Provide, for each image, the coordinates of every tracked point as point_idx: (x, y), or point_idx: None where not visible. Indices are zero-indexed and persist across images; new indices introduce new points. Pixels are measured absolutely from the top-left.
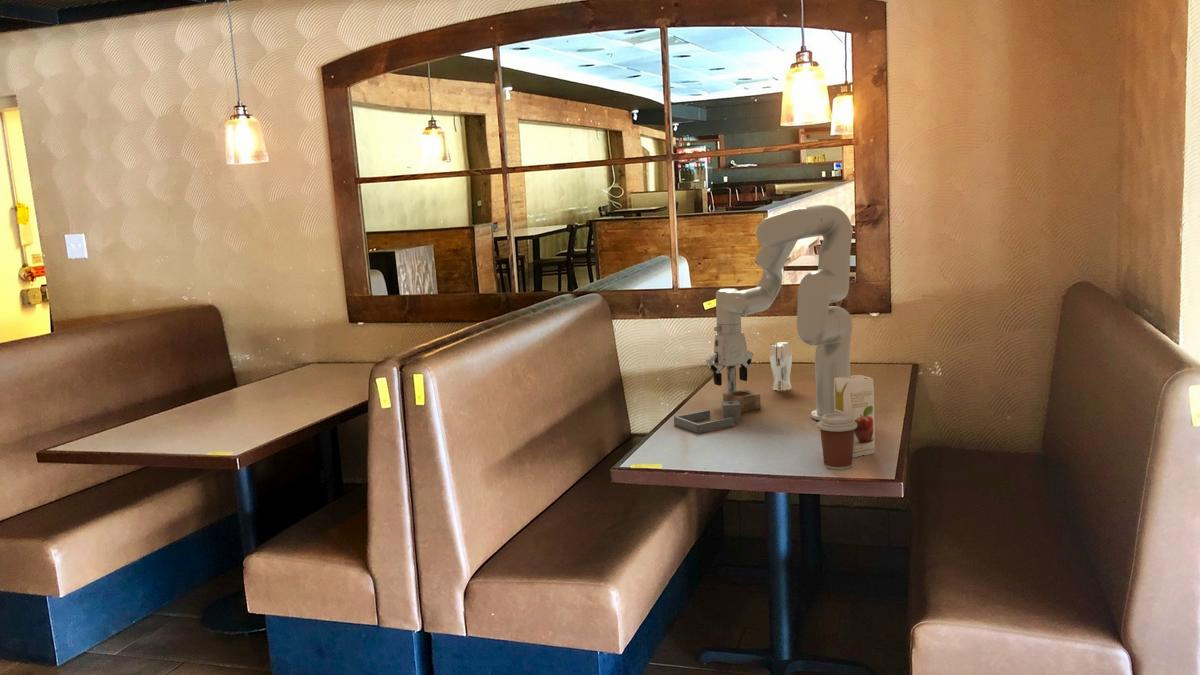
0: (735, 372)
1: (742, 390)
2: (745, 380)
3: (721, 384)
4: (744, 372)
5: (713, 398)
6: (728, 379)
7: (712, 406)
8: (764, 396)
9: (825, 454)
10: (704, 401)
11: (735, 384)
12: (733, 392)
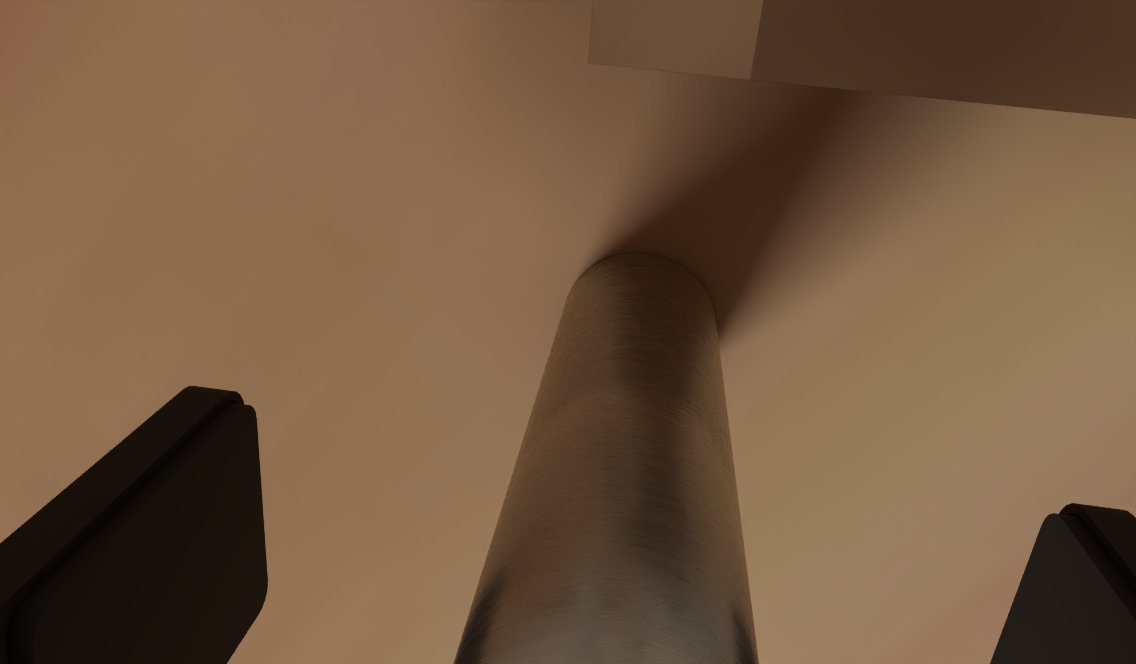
0: (511, 650)
1: (694, 9)
2: (237, 402)
3: (1081, 511)
4: (116, 560)
5: None
6: (749, 596)
7: (1116, 334)
8: (29, 192)
9: None
10: (900, 637)
11: (593, 405)
12: (1049, 11)
